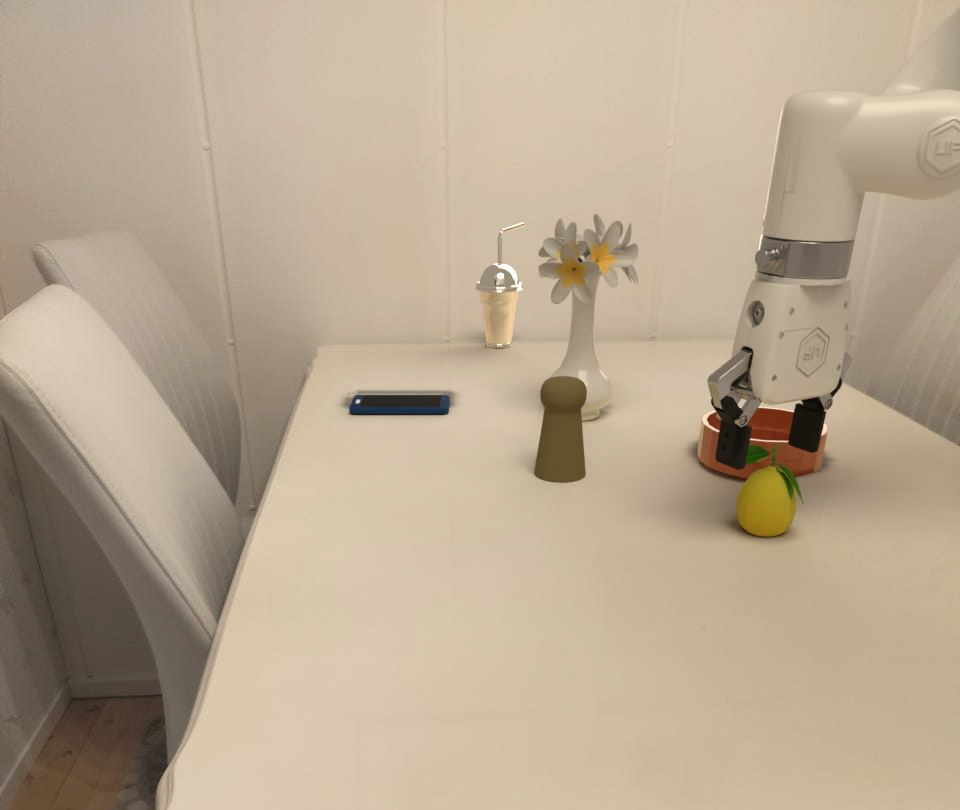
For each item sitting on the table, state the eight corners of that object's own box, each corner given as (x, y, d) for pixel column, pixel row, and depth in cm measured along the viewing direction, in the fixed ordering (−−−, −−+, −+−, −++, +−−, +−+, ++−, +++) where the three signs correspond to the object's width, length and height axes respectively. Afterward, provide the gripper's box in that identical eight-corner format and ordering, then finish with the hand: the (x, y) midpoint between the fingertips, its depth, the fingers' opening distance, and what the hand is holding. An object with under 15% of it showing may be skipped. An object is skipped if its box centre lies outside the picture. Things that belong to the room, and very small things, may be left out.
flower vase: (526, 434, 120) (531, 225, 107) (539, 396, 135) (545, 210, 123) (626, 439, 118) (644, 227, 105) (628, 400, 134) (643, 212, 121)
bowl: (755, 439, 118) (761, 400, 116) (845, 470, 108) (854, 428, 105) (672, 458, 112) (677, 417, 109) (760, 493, 101) (767, 449, 99)
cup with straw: (471, 341, 168) (470, 222, 158) (519, 339, 169) (522, 221, 159) (479, 351, 161) (479, 227, 151) (530, 349, 162) (533, 226, 152)
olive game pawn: (556, 486, 103) (561, 387, 98) (523, 471, 107) (525, 376, 102) (596, 475, 106) (603, 379, 101) (562, 461, 110) (567, 368, 105)
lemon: (721, 526, 93) (735, 430, 88) (780, 527, 93) (797, 431, 88) (735, 554, 87) (750, 453, 82) (797, 555, 87) (816, 453, 82)
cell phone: (354, 399, 133) (354, 394, 133) (449, 399, 134) (449, 394, 133) (348, 414, 127) (348, 408, 127) (448, 414, 127) (448, 408, 127)
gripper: (764, 273, 70) (729, 485, 79) (906, 261, 79) (860, 453, 87) (696, 260, 76) (670, 459, 85) (834, 250, 84) (798, 432, 93)
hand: (766, 456), depth 86 cm, fingers open, 9 cm apart
